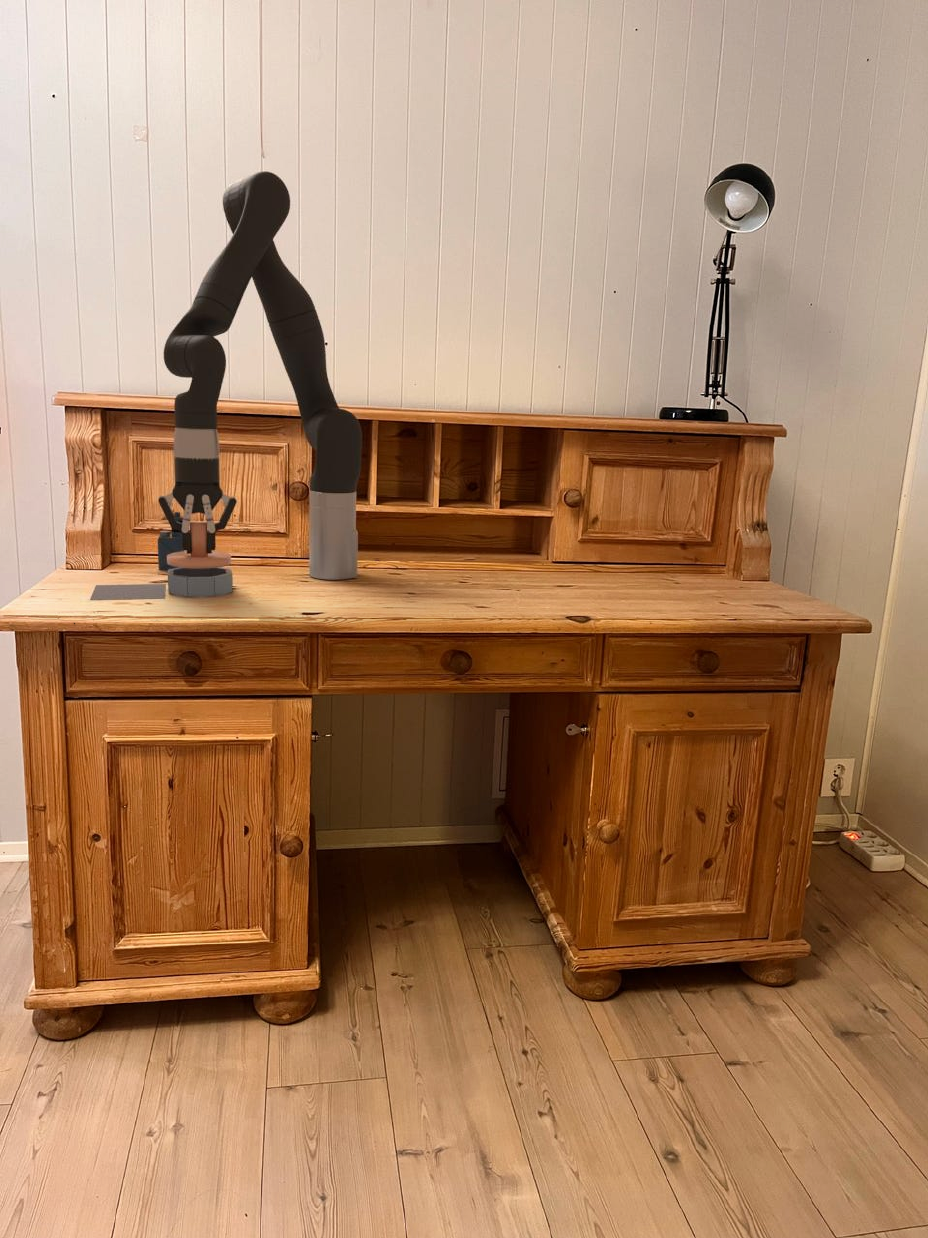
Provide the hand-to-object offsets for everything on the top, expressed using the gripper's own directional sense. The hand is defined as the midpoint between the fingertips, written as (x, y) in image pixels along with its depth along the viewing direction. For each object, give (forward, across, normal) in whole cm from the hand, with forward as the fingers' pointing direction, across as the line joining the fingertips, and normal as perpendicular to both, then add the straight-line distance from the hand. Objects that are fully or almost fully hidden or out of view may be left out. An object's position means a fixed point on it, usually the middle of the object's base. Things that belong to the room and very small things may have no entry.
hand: (198, 552), depth 159 cm
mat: (+8, +12, 0) cm, 14 cm away
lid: (+2, 0, 0) cm, 2 cm away
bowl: (+7, 0, 0) cm, 7 cm away
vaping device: (+8, +5, -20) cm, 22 cm away
